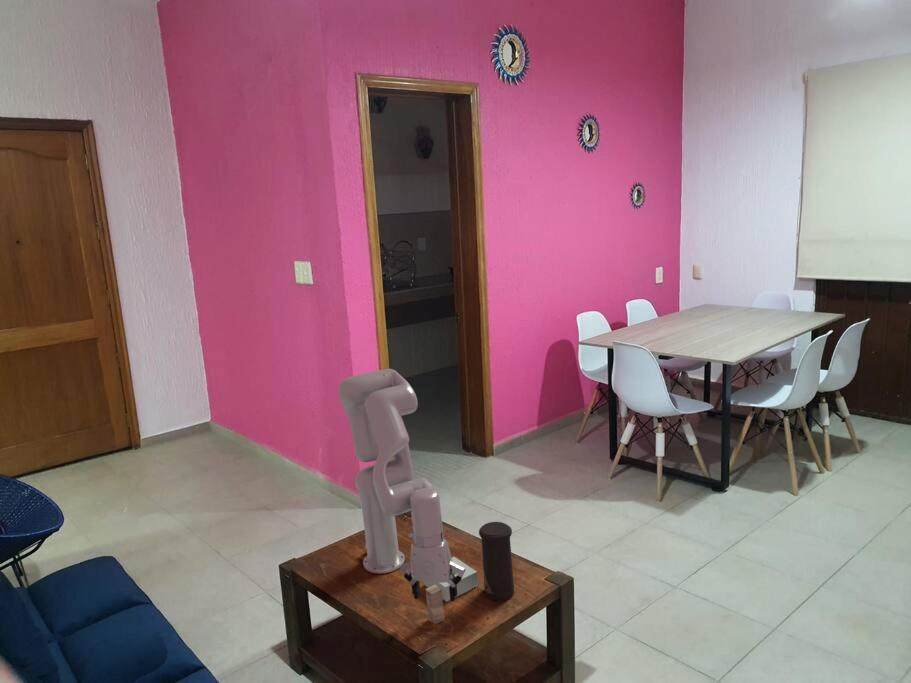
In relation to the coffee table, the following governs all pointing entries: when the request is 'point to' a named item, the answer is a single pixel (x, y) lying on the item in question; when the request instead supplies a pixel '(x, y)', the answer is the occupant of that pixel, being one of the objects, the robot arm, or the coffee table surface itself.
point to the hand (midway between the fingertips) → (435, 597)
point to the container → (497, 560)
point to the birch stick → (435, 604)
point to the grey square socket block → (463, 586)
